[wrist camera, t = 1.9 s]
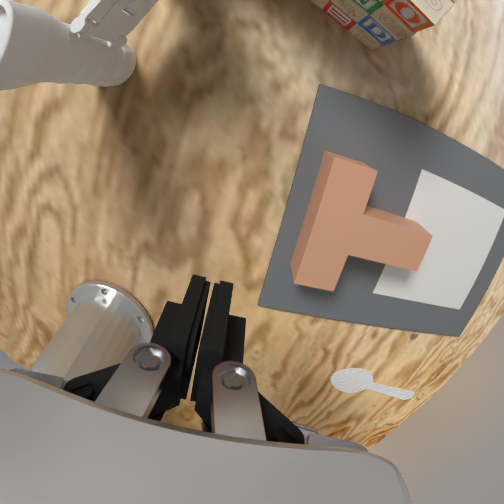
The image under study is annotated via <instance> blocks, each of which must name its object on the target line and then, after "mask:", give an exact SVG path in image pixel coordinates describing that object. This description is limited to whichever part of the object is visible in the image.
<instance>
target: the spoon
mask: <svg viewBox="0 0 504 504" xmlns="http://www.w3.org/2000/svg"><path fill="white" fill-rule="evenodd" d="M330 380H331V384H332V385H333V387H335V388H336V389H337V390H340V391H342V392H348V393H354V392H358V391H362V390H364V389H370V390H374V391H376V392H380V393H383V394H386V395H390V396H393V397H396V398H400V399H404V400H405V399H407V400H408V399H409V398H412V396H413V395H414V391H412V390H405V389H401V388H395V387H390V386H386V385H380V384H376V383H373V375H372V374H371V373H370V372H369V371H367V370H365V369H359V368H349V369H344V370H340V371H337V372H335V373H334V374H333V375H332V376H331V378H330Z"/></svg>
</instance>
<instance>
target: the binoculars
mask: <svg viewBox="0 0 504 504" xmlns="http://www.w3.org/2000/svg"><path fill="white" fill-rule="evenodd" d="M157 1H158V0H89V3H88V5H87V6H86V7H85V8H84V9H83V10H82V12H81V13H80V15H81V16H80V17H78V18H75V19H74V20H73V22H72V23H71V25H70V24H66V23H63V22H62V21H60V20H58V19H57V18H55V17H53V16H52V15H50V14H48V13H47V12H45V11H43V10H41V9H39V8H36V7H32V6H28V5H25V4H21V3H17V2H13V1H8V0H0V90H10V89H15V88H19V87H23V86H27V85H31V84H36V83H40V82H55V83H74V84H90V85H92V86H101V87H108V86H116V85H119V84H122V83H123V82H125V81H126V80H127V79H128V78H129V77H130V76H131V75H132V73H133V71H134V69H135V66H136V54H135V52H134V50H133V49H132V48H131V47H130V46H129V45H126V42H127V38H126V36H127V35H128V34H129V33H130V32H131V31H132V30H133V29H134V28H135V27H136V26H137V25H138V23H139V22H140V21H141V20H142V19H143V17H144V16H145V15H146V14H147V13H148V12H149V10H150V9H151V8H152V7H153V6H154V4H155V3H156V2H157ZM122 10H124V11H125V12H126V13H125V12H123V11H122ZM92 21H94V22H92Z"/></svg>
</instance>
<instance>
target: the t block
mask: <svg viewBox="0 0 504 504" xmlns="http://www.w3.org/2000/svg"><path fill="white" fill-rule="evenodd" d="M377 172H378V171H377V170H375V169H373V168H372V167H370V166H368V165H366V164H365V163H363V162H360V161H356V160H353V159H350V158H347V157H344V156H341V155H338V154H334V153H331V152H328V151H324V154H323V158H322V161H321V165H320V168H319V171H318V175H317V178H316V182H315V185H314V188H313V192H312V195H311V198H310V202H309V205H308V208H307V212H306V215H305V218H304V221H303V225H302V228H301V231H300V234H299V237H298V241H297V244H296V247H295V250H294V253H293V256H292V259H291V263H290V265H291V270H292V276H293V281H294V284H299V285H304V286H308V287H313V288H318V289H323V290H329V291H334V289H335V286H336V284H337V282H338V279H339V277H340V274H341V272H342V269H343V267H344V264H345V262H346V259H347V257H348V255H350V256H355V257H359V258H363V259H367V260H371V261H375V262H380V263H384V264H388V265H392V266H396V267H400V268H404V269H408V270H412V271H416V272H417V271H418V268H419V266H420V264H421V262H422V260H423V258H424V255H425V253H426V251H427V249H428V246H429V244H430V242H431V239H432V237H433V236H432V235H431V234H430V233H429V232H428V231H427V230H425V229H424V228H423V227H422V226H421V225H420V224H418V223H417V222H416V221H413V220H410V219H407V218H404V217H401V216H398V215H395V214H392V213H389V212H386V211H383V210H379V209H376V208H373V207H370V206H366V205H367V202H368V199H369V197H370V194H371V191H372V188H373V185H374V182H375V179H376V175H377Z"/></svg>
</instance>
